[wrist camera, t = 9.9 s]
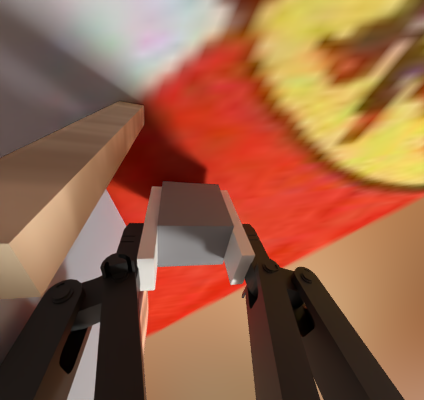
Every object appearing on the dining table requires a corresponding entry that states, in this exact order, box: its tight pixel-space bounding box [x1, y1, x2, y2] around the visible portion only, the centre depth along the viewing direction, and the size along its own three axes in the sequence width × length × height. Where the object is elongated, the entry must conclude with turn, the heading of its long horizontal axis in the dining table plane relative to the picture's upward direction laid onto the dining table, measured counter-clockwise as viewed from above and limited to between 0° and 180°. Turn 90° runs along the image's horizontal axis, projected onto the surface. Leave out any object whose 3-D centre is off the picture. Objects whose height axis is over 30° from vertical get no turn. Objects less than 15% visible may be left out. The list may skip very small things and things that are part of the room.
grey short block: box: [157, 181, 234, 267], centre depth 13 cm, size 4×4×5 cm
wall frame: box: [0, 101, 148, 358], centre depth 14 cm, size 29×2×13 cm, turn 169°
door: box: [0, 190, 126, 400], centre depth 11 cm, size 12×1×12 cm, turn 6°
